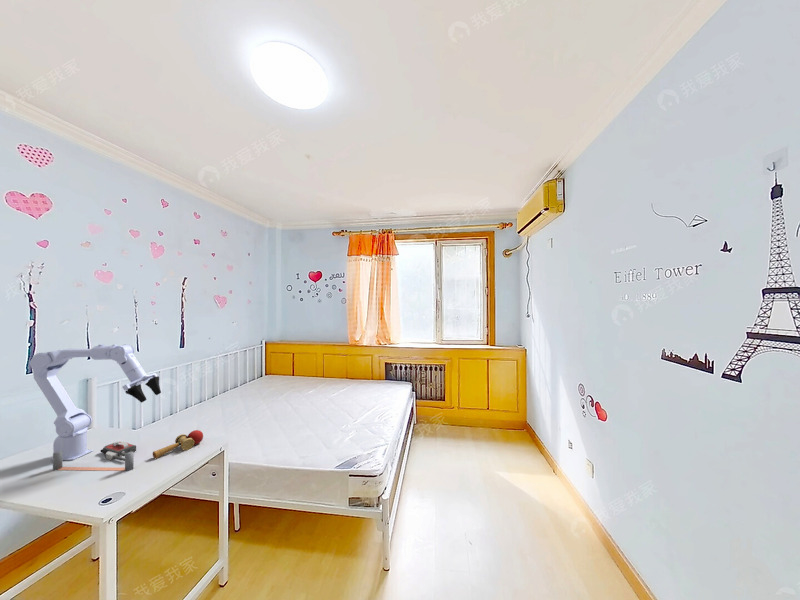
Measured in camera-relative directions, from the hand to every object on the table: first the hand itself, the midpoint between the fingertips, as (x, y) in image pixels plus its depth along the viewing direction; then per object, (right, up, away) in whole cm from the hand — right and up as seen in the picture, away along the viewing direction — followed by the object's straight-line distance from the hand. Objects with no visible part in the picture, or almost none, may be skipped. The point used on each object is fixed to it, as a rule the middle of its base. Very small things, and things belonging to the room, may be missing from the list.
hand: (151, 397), depth 131 cm
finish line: (-9, -22, -16) cm, 28 cm away
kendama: (+13, -22, -1) cm, 25 cm away
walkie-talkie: (-8, -22, -5) cm, 24 cm away
